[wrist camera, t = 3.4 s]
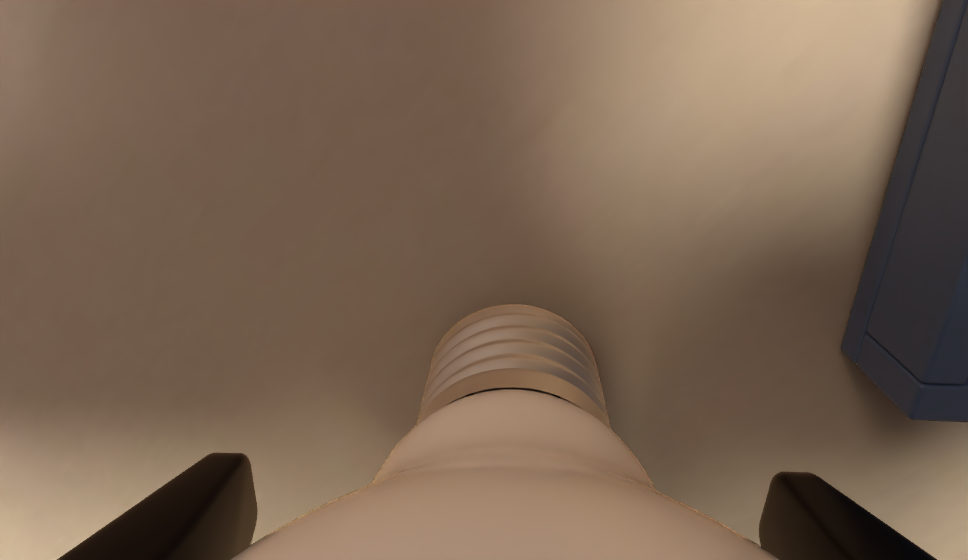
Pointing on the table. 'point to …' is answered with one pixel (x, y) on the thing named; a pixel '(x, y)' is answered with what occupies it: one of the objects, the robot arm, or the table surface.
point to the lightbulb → (508, 467)
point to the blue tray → (923, 247)
